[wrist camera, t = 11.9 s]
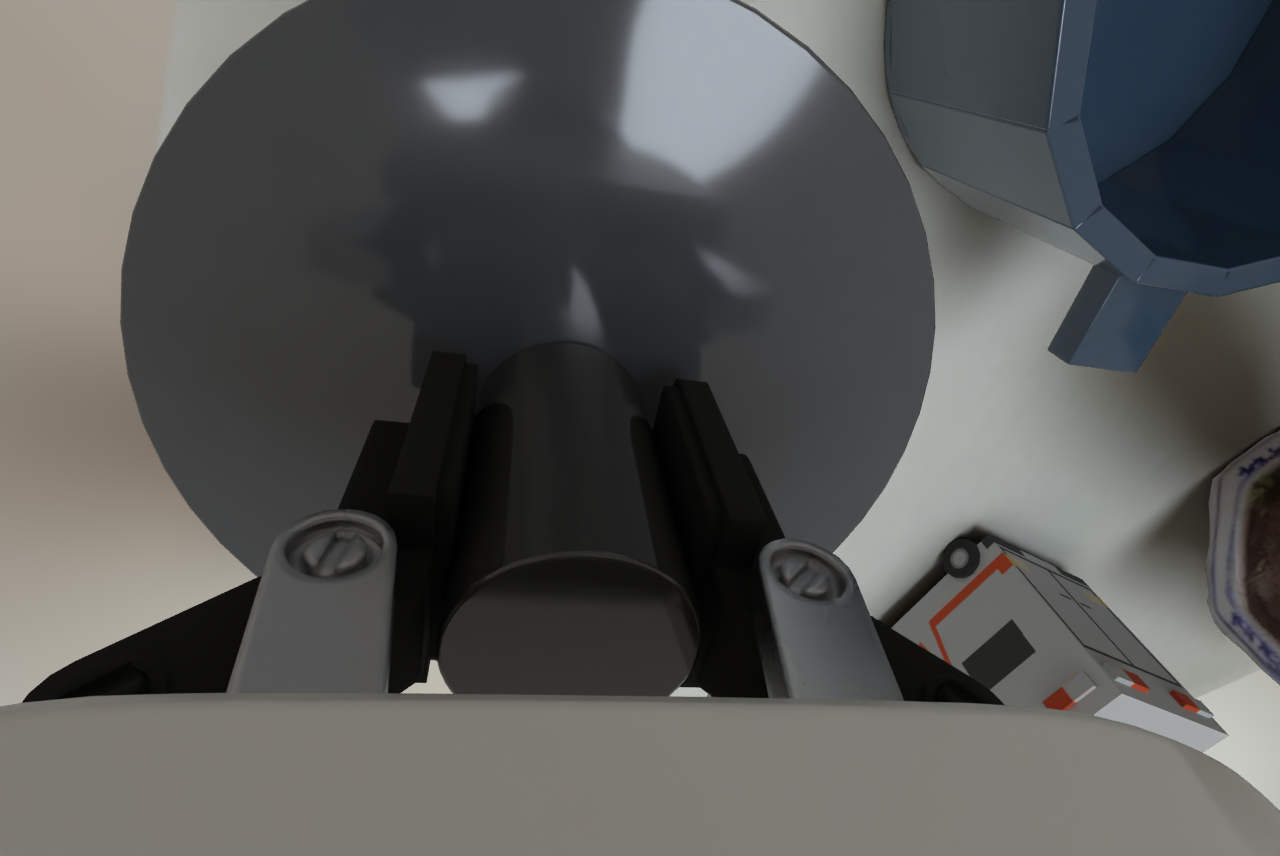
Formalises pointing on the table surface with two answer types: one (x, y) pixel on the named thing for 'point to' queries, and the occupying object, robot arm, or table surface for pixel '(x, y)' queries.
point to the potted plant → (1248, 553)
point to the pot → (1105, 143)
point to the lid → (530, 298)
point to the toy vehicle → (1049, 643)
